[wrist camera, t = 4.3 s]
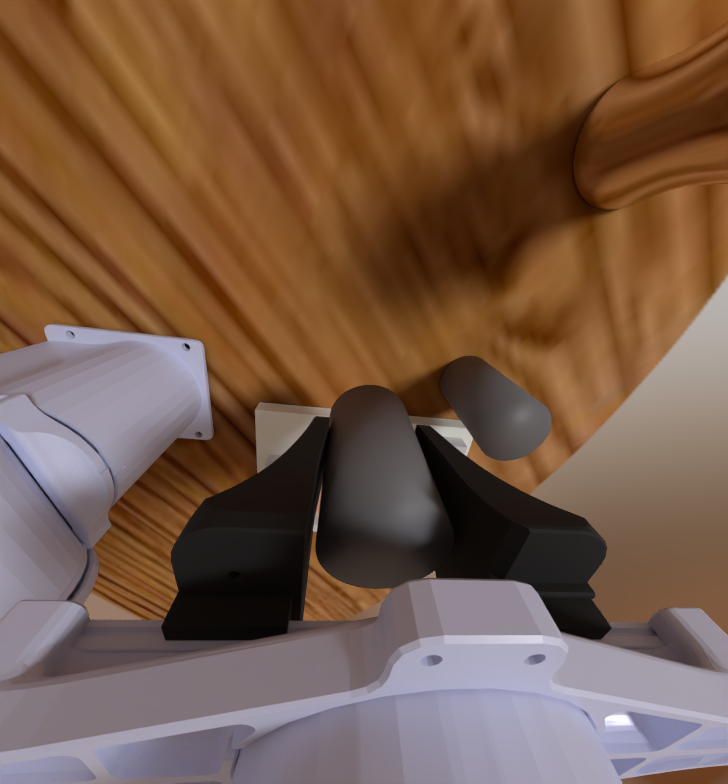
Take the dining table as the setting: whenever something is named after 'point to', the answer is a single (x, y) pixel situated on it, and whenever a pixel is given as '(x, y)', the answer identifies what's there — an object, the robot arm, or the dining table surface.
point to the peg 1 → (378, 496)
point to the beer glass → (658, 129)
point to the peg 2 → (494, 409)
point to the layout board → (288, 422)
